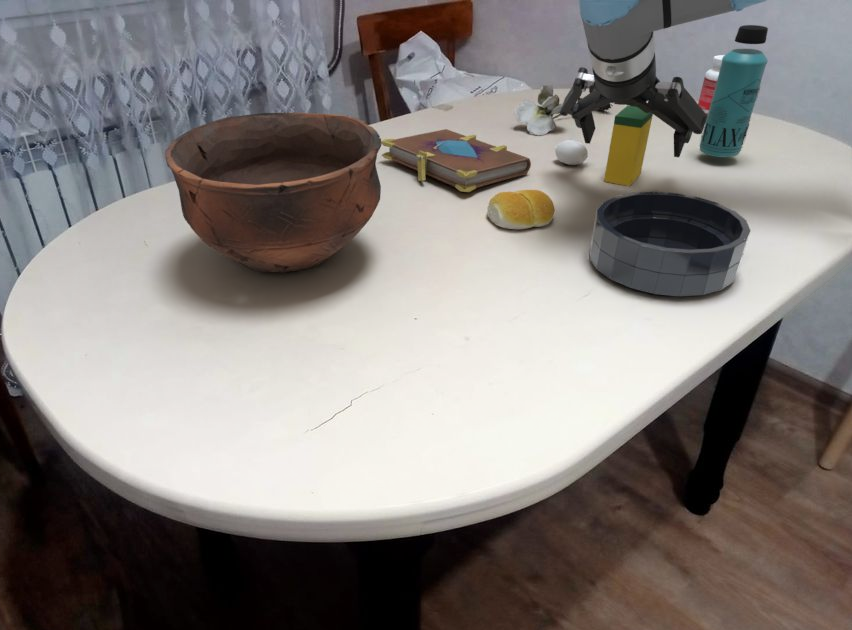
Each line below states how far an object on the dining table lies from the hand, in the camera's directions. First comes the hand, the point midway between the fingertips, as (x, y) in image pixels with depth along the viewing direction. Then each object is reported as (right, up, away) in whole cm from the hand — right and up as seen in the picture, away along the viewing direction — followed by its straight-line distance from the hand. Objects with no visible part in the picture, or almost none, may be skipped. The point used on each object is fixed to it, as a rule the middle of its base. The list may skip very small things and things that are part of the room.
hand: (633, 142), depth 101 cm
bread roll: (-20, -14, -10) cm, 26 cm away
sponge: (-1, -5, +1) cm, 5 cm away
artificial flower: (-4, +12, +25) cm, 28 cm away
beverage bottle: (+16, -1, +7) cm, 18 cm away
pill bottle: (+24, +12, +24) cm, 36 cm away
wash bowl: (-5, -22, -22) cm, 31 cm away
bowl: (-51, -20, -17) cm, 57 cm away
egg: (-8, -2, +7) cm, 11 cm away
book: (-29, -2, +7) cm, 30 cm away
